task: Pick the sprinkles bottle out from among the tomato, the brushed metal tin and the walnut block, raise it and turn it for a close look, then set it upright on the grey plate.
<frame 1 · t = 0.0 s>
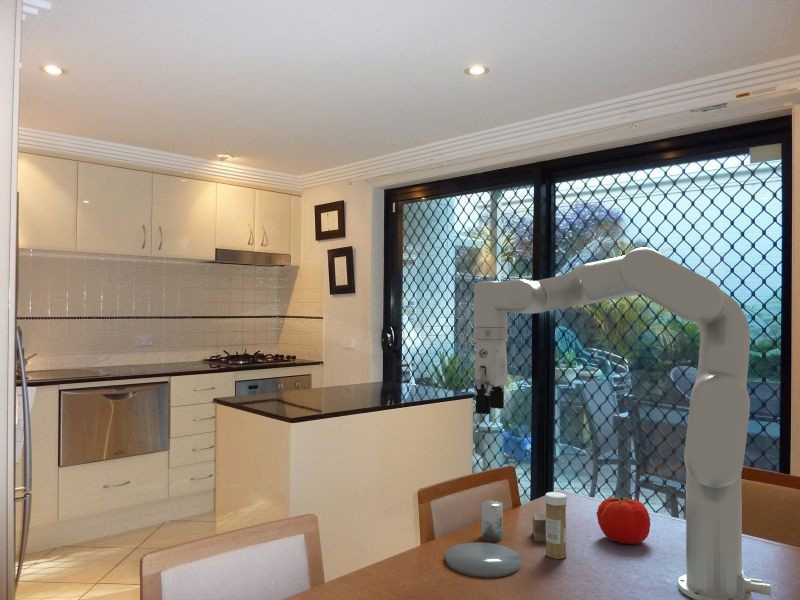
hand: (490, 410, 138), 31 cm above the table, tool pointing down, fingers open, 9 cm apart
walnut block: (544, 538, 146), on the table
metal tin: (492, 537, 145), on the table
grey plate: (482, 561, 131), on the table
sprinkles bottle: (555, 556, 134), on the table
tomato: (623, 541, 144), on the table
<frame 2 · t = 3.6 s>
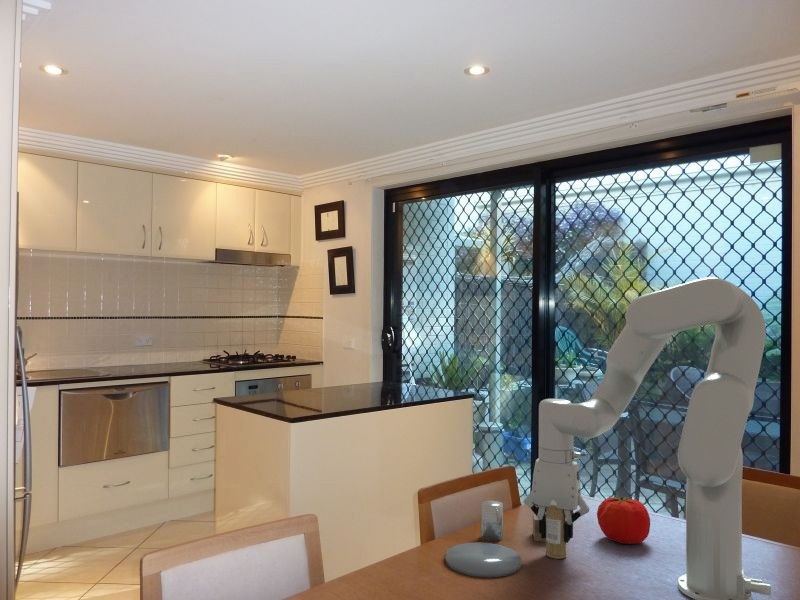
hand: (555, 537, 135), 4 cm above the table, tool pointing down, fingers closed on sprinkles bottle, 4 cm apart
sprinkles bottle: (555, 556, 134), on the table, touching gripper
everything else where it was.
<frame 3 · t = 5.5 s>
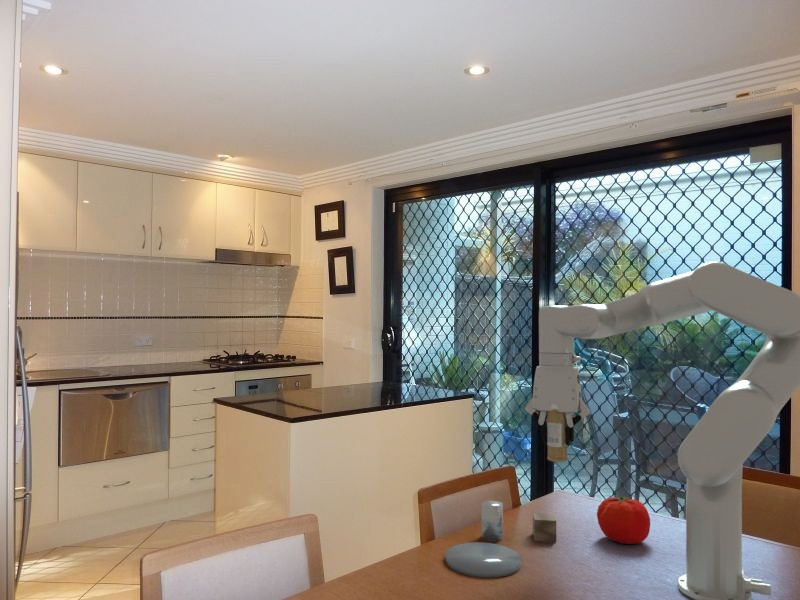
hand: (557, 442, 135), 25 cm above the table, tool pointing down, fingers closed on sprinkles bottle, 4 cm apart
sprinkles bottle: (557, 461, 135), point 21 cm above the table, touching gripper
everything else where it was.
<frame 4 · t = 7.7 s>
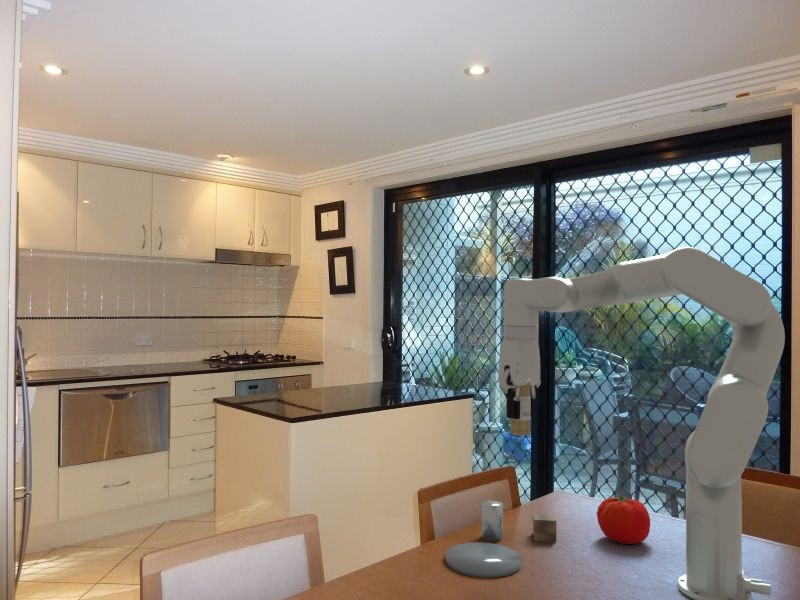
hand: (520, 416, 134), 31 cm above the table, tool pointing down, fingers closed on sprinkles bottle, 4 cm apart
sprinkles bottle: (520, 434, 134), point 27 cm above the table, touching gripper
everything else where it was.
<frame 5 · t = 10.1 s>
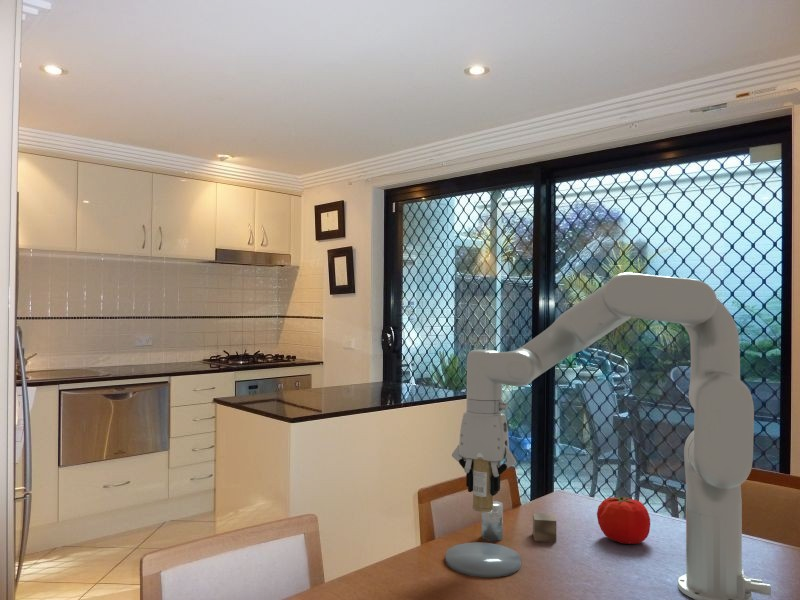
hand: (483, 491, 131), 15 cm above the table, tool pointing down, fingers closed on sprinkles bottle, 4 cm apart
sprinkles bottle: (482, 510, 131), point 11 cm above the table, touching gripper
everything else where it was.
when the fingers open (5 cm above the table, at t = 12.1 s): sprinkles bottle stays where it is, resting on grey plate.
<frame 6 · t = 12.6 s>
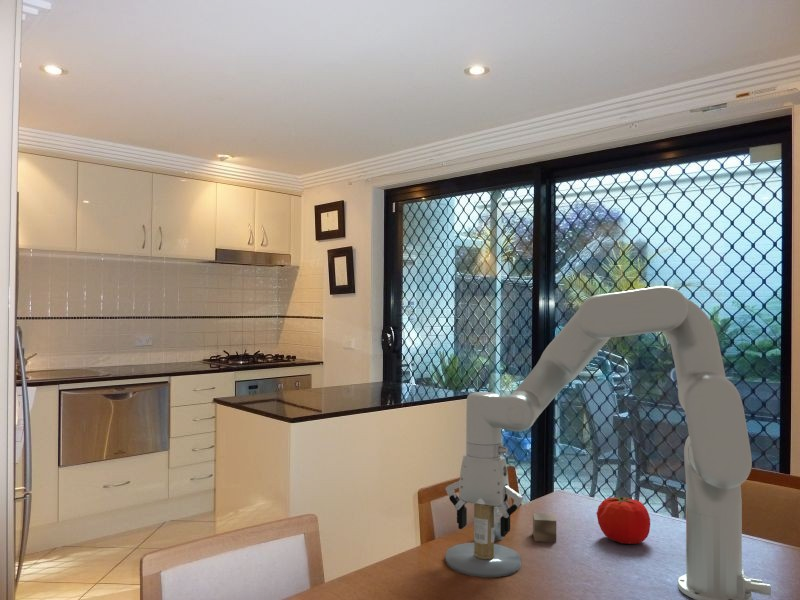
hand: (483, 530, 131), 7 cm above the table, tool pointing down, fingers open, 9 cm apart
sprinkles bottle: (483, 556, 131), point 1 cm above the table, touching grey plate
everything else where it was.
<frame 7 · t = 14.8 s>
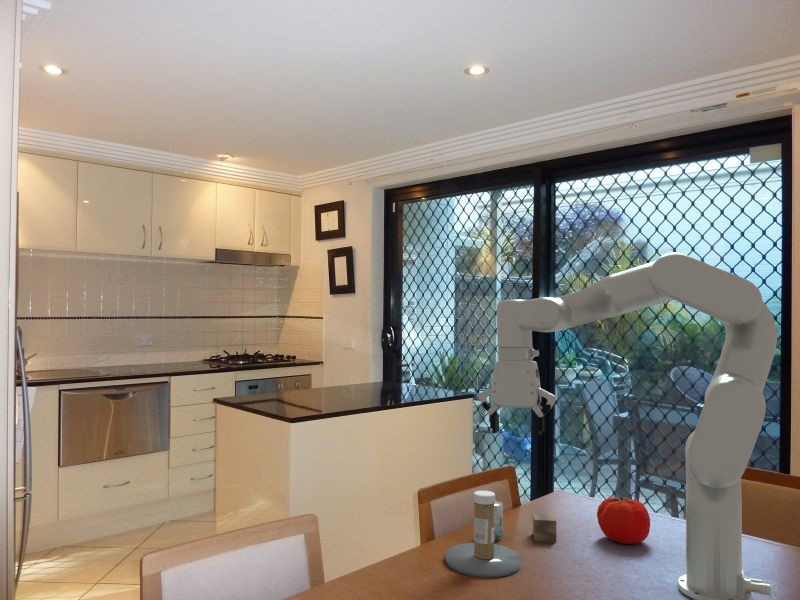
hand: (517, 433, 134), 27 cm above the table, tool pointing down, fingers open, 9 cm apart
nothing on the table moved.
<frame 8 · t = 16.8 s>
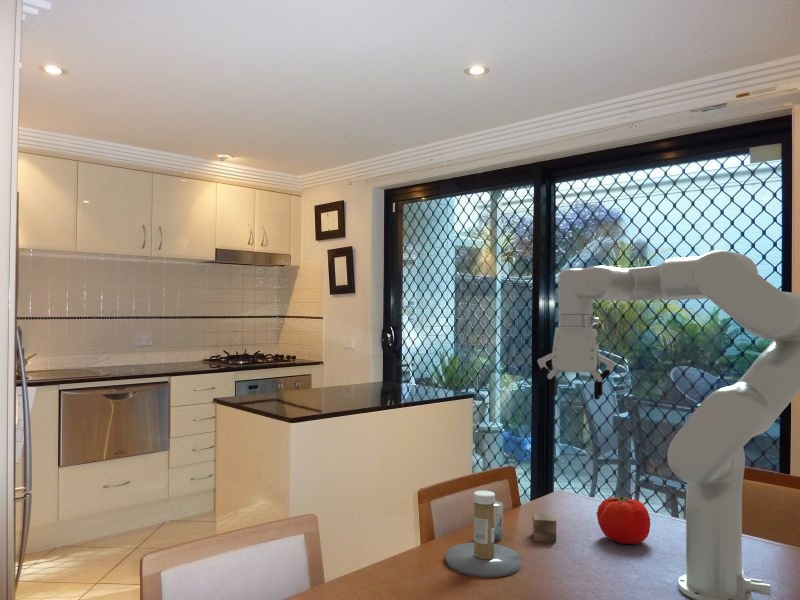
hand: (575, 397, 139), 34 cm above the table, tool pointing down, fingers open, 9 cm apart
nothing on the table moved.
at the end: sprinkles bottle inside the target area on the grey plate (0.2 cm from its centre), point 1.0 cm above the grey plate's base; sprinkles bottle tilted 0°; the gripper is holding nothing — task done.
